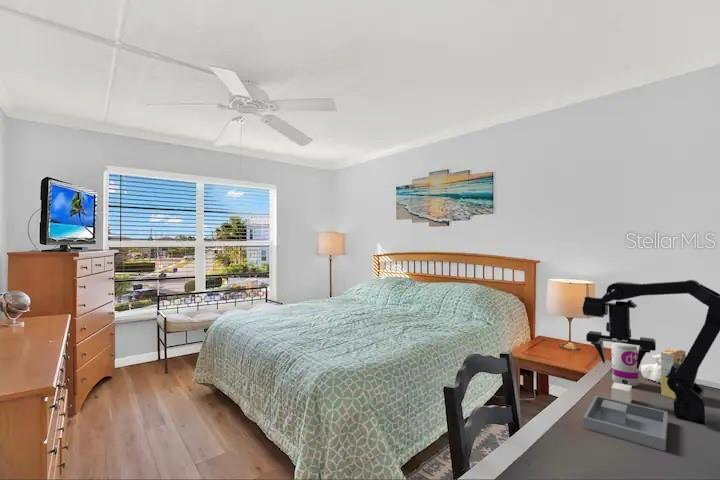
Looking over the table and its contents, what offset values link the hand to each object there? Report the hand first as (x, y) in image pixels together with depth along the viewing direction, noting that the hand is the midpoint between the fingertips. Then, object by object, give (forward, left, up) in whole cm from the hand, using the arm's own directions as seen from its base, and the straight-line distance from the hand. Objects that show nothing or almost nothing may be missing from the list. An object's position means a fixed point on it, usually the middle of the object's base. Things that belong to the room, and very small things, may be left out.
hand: (620, 365), depth 121 cm
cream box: (0, 0, -12) cm, 12 cm away
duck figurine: (-9, -31, -12) cm, 35 cm away
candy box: (-13, -18, -12) cm, 26 cm away
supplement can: (+1, -20, -12) cm, 24 cm away
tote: (-3, +20, -12) cm, 23 cm away
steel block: (0, +18, -12) cm, 21 cm away
